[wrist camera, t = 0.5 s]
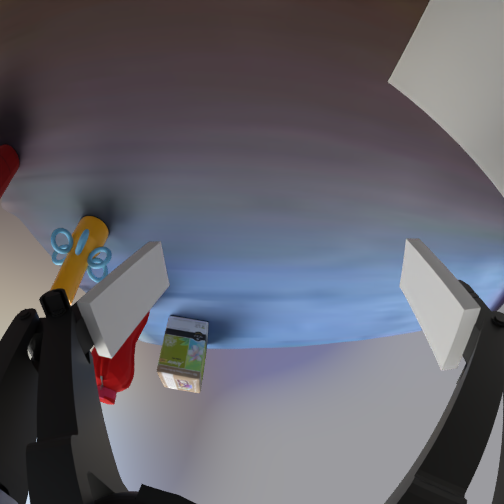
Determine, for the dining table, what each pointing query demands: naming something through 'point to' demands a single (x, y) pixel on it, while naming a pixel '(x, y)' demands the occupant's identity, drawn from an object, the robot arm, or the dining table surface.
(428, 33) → the tall white box
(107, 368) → the water bottle
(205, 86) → the dining table surface
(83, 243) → the yellow and blue cylinder
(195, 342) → the green printed box
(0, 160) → the plastic cup
